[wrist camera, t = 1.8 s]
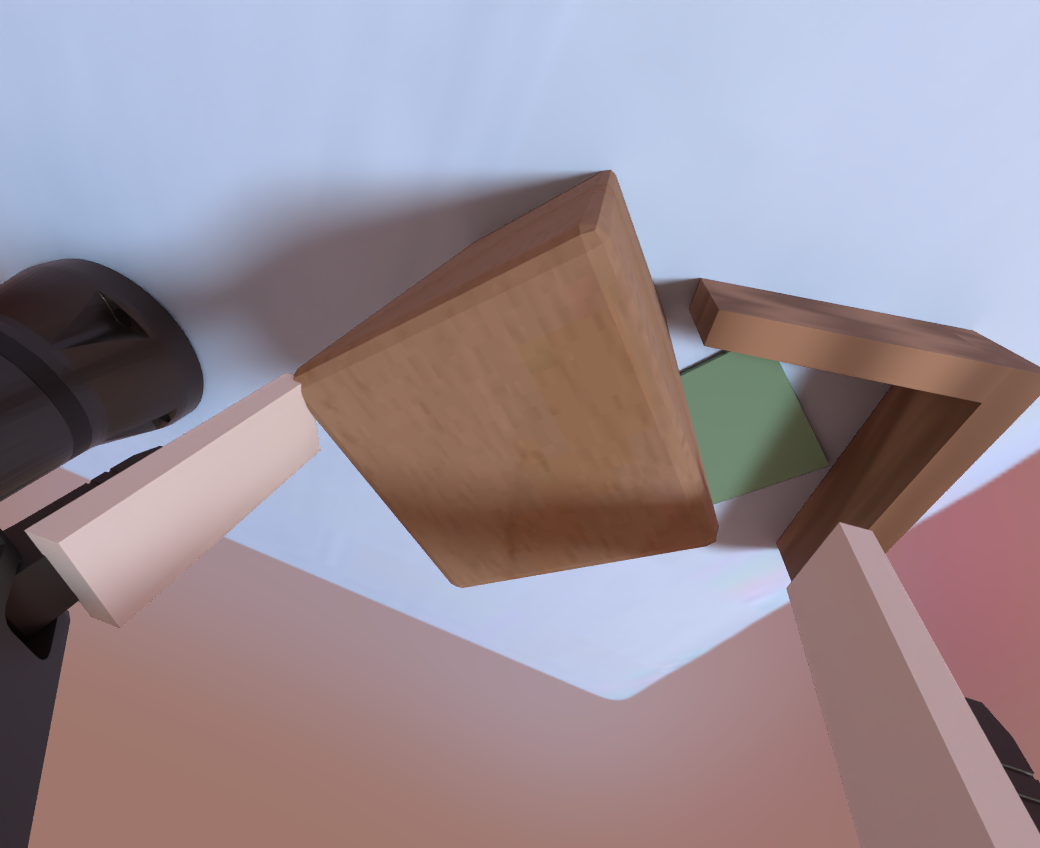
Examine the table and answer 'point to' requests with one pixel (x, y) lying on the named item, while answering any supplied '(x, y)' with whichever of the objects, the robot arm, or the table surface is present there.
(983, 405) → the wooden corner bracket
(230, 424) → the robot arm
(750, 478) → the pad
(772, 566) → the table surface
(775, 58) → the table surface
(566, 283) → the wooden block
